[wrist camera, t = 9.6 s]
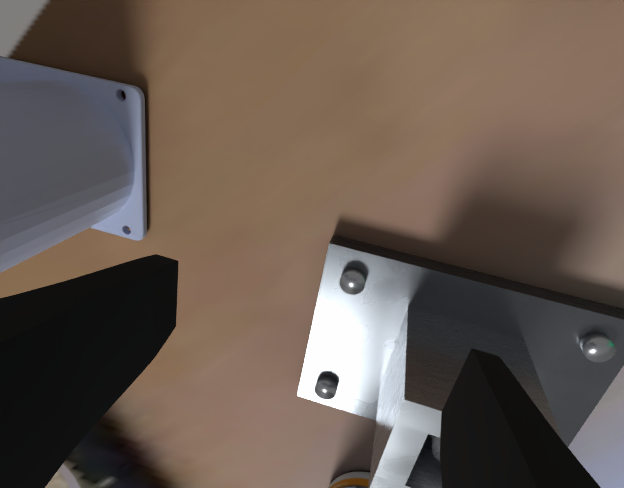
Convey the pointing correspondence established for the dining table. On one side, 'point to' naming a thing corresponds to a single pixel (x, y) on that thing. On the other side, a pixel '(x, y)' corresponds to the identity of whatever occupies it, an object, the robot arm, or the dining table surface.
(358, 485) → the pill bottle
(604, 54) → the dining table surface
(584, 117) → the dining table surface
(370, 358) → the dark grey mounting plate
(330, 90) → the dining table surface
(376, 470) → the grey square socket
